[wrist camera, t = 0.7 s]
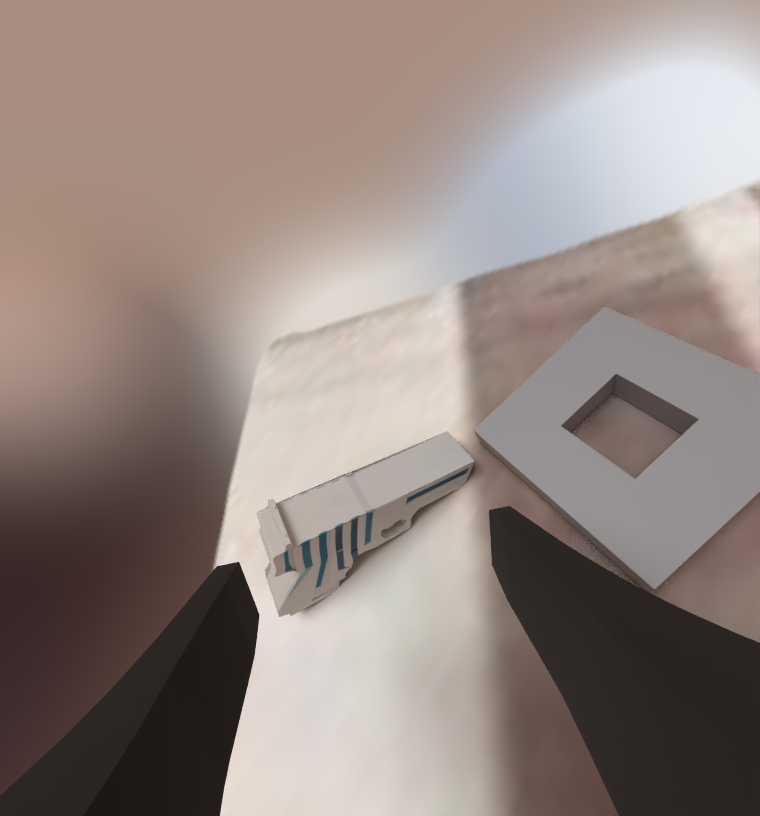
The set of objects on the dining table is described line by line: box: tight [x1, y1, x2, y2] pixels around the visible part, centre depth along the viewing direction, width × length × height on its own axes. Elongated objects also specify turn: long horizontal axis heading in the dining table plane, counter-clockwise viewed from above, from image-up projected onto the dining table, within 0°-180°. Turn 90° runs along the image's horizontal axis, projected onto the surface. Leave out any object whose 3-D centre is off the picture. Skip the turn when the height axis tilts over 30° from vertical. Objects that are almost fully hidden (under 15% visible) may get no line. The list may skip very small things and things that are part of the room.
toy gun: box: [257, 431, 474, 617], centre depth 24 cm, size 3×14×10 cm
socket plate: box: [474, 307, 760, 591], centre depth 21 cm, size 12×12×2 cm
